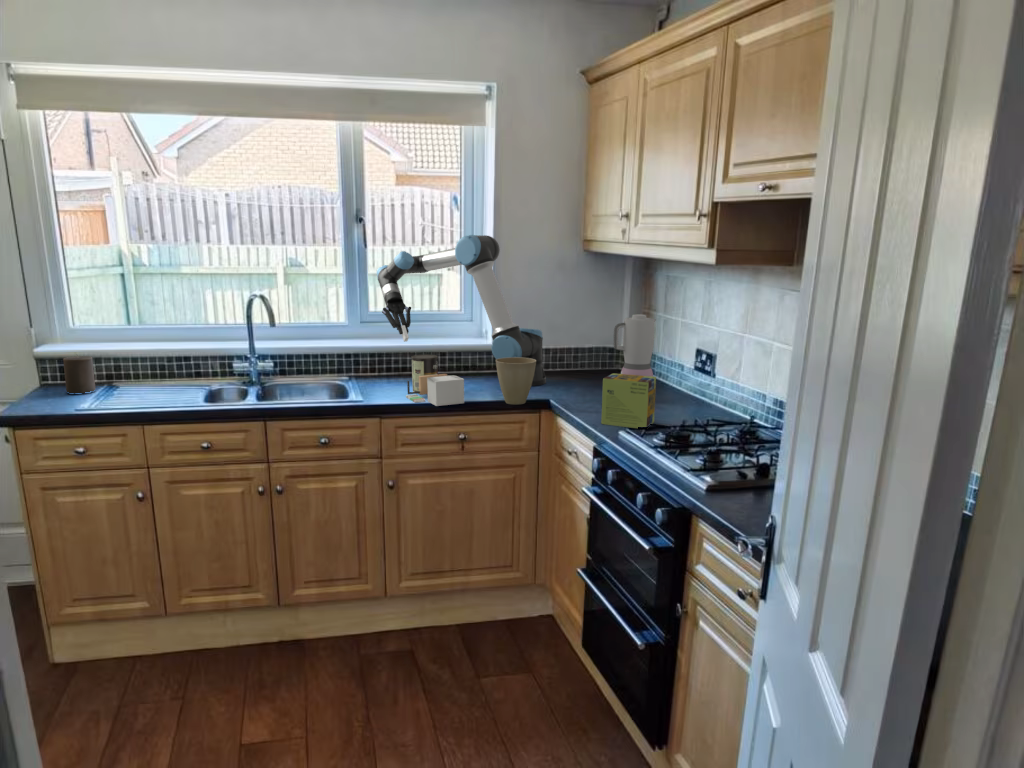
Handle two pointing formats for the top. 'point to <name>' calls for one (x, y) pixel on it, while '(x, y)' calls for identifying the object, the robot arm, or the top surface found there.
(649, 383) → the protein box
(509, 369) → the plant pot
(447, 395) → the gauge frame
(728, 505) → the top surface
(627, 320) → the blender
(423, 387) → the gauge plunger
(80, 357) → the pillar candle
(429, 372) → the coffee can
